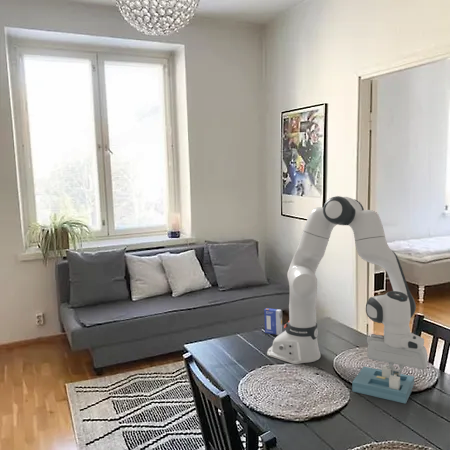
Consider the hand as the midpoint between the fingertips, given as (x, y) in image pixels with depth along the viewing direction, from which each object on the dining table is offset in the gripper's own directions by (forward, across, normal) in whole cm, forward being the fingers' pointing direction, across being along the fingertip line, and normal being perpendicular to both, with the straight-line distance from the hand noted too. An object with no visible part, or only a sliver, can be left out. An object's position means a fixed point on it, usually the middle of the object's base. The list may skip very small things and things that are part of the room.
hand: (396, 374), depth 164 cm
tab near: (+2, +1, -7) cm, 7 cm away
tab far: (+2, -3, 0) cm, 4 cm away
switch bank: (+4, -4, -3) cm, 7 cm away
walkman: (+5, -63, +27) cm, 69 cm away
